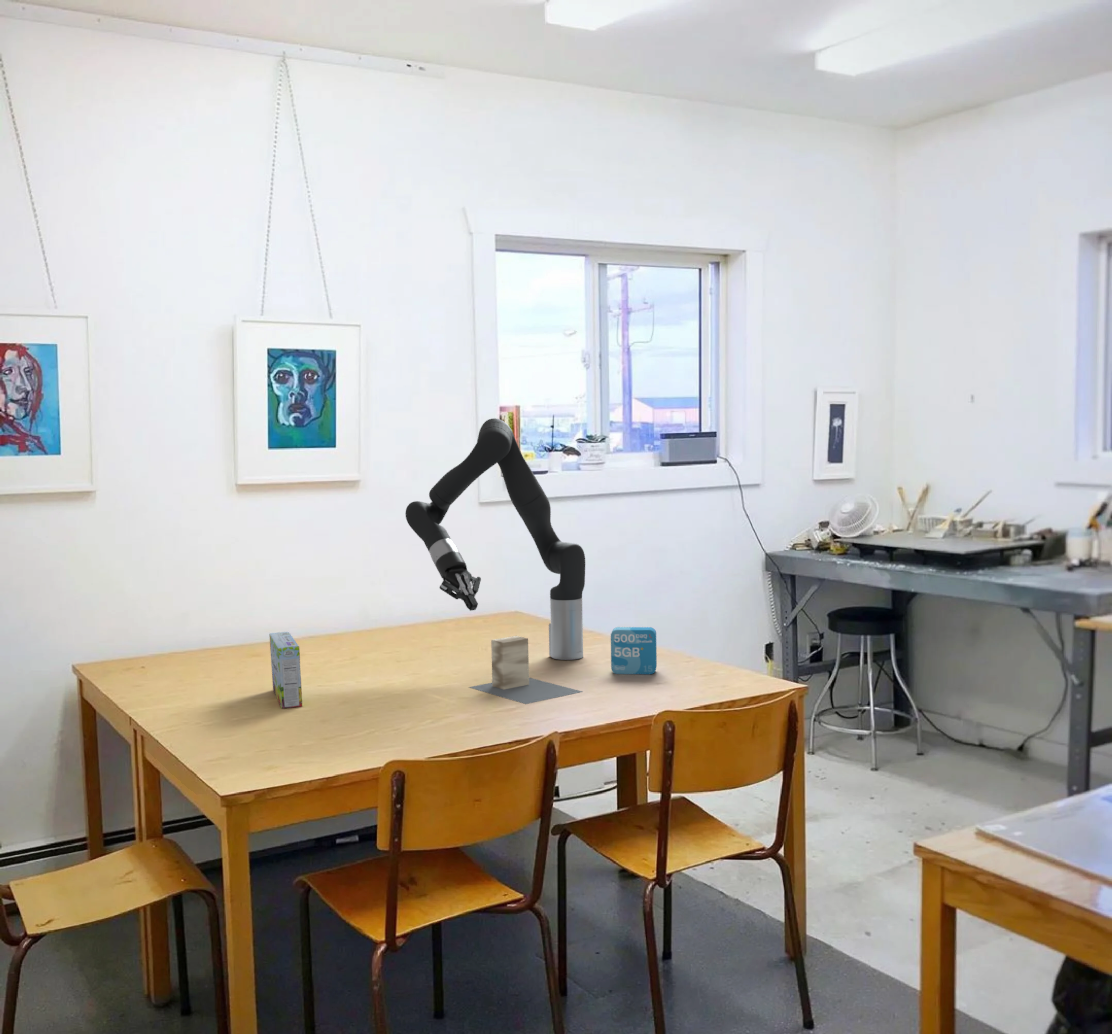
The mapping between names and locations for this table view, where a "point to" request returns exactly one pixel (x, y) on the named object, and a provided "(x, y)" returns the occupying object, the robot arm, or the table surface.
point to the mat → (528, 691)
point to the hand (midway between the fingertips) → (474, 608)
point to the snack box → (286, 669)
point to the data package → (633, 650)
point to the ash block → (510, 662)
